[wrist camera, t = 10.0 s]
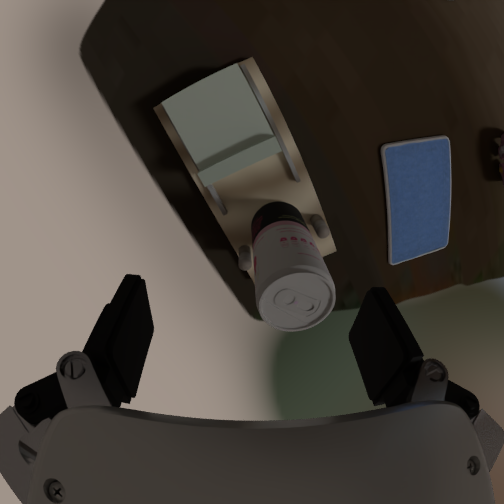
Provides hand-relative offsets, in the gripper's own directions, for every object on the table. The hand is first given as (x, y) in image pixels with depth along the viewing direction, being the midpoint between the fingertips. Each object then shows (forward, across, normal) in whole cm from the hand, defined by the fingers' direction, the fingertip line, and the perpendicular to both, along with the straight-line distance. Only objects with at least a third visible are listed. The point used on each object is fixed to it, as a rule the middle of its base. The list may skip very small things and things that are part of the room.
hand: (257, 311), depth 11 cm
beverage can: (+23, -4, +6) cm, 24 cm away
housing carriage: (+23, +3, -6) cm, 24 cm away
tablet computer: (+25, -26, +1) cm, 36 cm away
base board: (+24, -1, +1) cm, 24 cm away
